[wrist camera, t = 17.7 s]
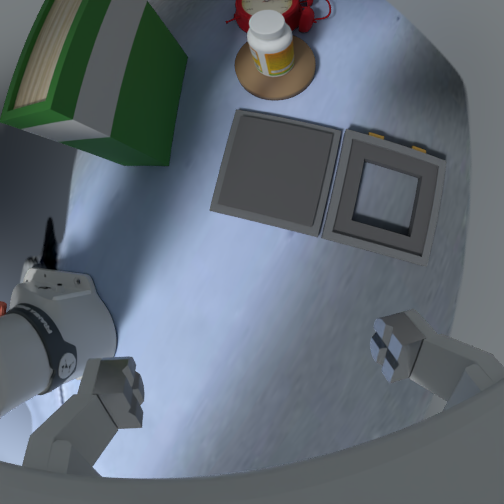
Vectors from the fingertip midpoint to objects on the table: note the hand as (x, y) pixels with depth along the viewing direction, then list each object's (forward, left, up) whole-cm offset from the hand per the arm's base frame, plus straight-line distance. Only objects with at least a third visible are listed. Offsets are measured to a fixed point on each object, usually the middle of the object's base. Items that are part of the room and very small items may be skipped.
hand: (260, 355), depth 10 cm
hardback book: (-24, +17, -31) cm, 43 cm away
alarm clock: (-10, +37, -31) cm, 49 cm away
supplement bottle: (-8, +26, -30) cm, 41 cm away
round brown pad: (-8, +26, -31) cm, 41 cm away
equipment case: (+2, +12, -31) cm, 33 cm away
